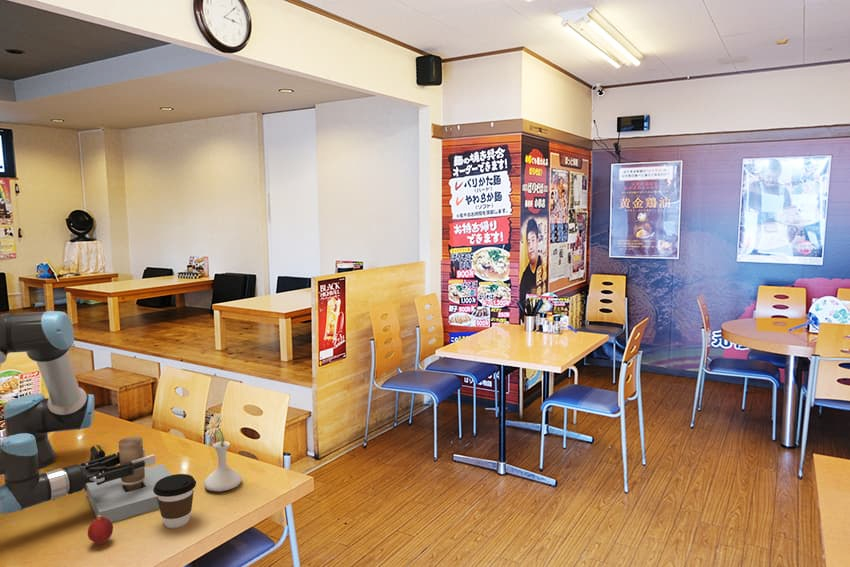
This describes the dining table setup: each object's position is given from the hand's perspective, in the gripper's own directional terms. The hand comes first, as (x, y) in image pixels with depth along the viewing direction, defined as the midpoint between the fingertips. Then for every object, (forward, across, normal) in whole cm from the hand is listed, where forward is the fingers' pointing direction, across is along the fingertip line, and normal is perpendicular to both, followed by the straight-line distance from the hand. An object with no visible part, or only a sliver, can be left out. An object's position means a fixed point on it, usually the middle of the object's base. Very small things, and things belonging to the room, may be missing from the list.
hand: (149, 455), depth 180 cm
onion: (-21, +18, -12) cm, 30 cm away
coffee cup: (-3, +23, -12) cm, 26 cm away
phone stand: (-8, -18, -12) cm, 23 cm away
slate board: (-5, 0, -12) cm, 13 cm away
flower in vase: (+17, +13, -12) cm, 24 cm away
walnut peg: (-5, 0, -10) cm, 11 cm away
